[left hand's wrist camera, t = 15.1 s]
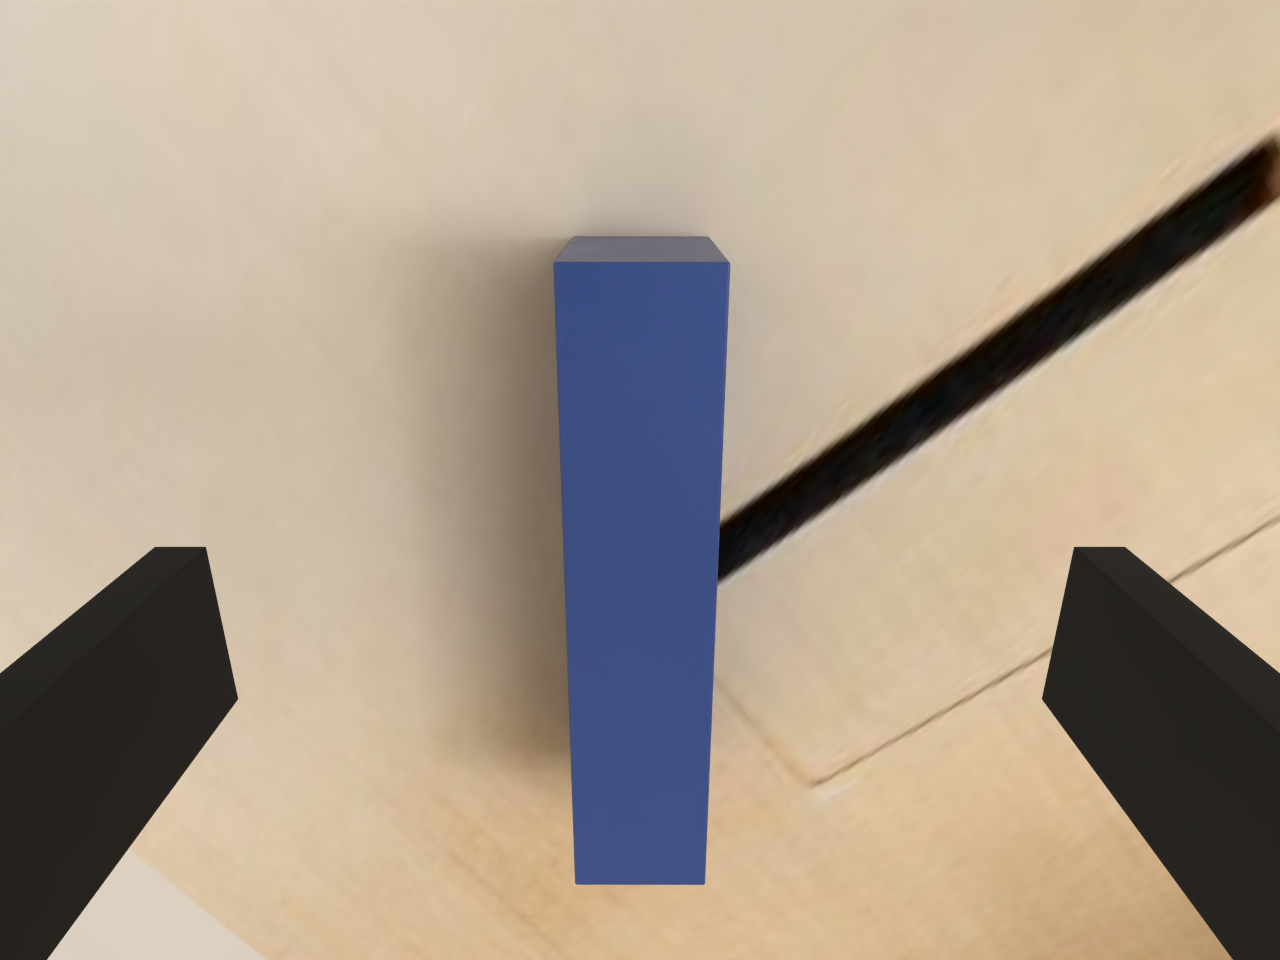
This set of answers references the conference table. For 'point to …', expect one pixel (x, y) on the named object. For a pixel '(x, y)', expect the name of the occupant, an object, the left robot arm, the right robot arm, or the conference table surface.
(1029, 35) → the conference table surface
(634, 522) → the bar
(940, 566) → the conference table surface
